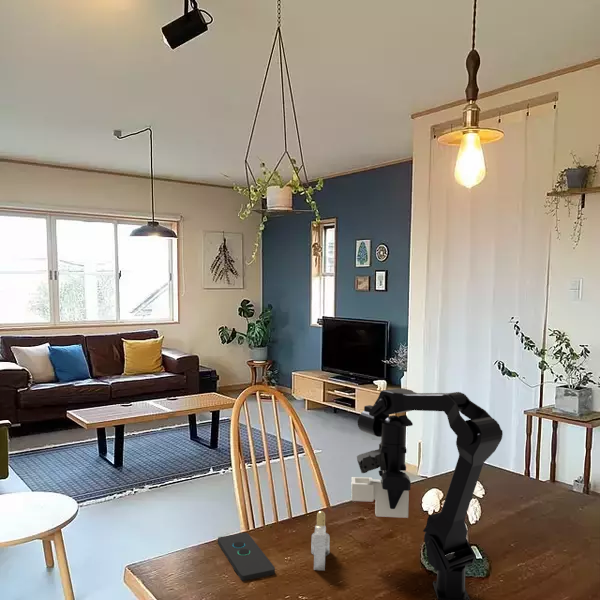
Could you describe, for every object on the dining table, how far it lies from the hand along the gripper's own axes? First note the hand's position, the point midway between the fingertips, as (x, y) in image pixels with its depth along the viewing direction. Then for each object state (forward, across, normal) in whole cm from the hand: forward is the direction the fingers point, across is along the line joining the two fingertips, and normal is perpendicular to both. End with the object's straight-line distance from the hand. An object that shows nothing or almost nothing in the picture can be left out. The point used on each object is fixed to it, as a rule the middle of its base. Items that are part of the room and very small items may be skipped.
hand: (391, 506), depth 132 cm
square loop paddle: (+2, 0, -3) cm, 4 cm away
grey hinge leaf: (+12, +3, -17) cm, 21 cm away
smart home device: (+13, +4, -35) cm, 37 cm away
